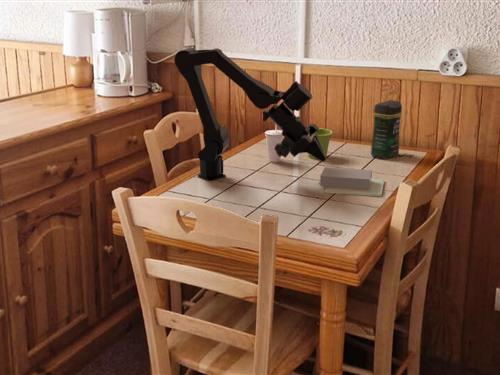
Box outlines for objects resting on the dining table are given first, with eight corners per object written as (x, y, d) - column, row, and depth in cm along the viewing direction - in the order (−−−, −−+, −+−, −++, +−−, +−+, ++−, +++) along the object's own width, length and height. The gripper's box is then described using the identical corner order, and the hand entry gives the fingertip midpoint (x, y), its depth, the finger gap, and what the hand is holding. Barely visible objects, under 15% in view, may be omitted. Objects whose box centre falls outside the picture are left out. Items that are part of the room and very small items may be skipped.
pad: (324, 192, 193) (324, 190, 193) (330, 177, 206) (330, 175, 206) (381, 196, 190) (381, 194, 189) (384, 181, 202) (384, 179, 202)
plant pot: (336, 155, 229) (337, 130, 227) (324, 162, 222) (325, 136, 219) (311, 151, 234) (311, 127, 231) (298, 158, 226) (299, 132, 223)
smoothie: (276, 164, 219) (277, 122, 215) (260, 161, 223) (260, 119, 218) (288, 160, 224) (288, 118, 220) (272, 157, 228) (272, 116, 223)
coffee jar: (388, 161, 223) (392, 105, 217) (367, 156, 227) (370, 102, 221) (402, 154, 230) (406, 100, 224) (381, 150, 235) (384, 97, 229)
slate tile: (320, 176, 195) (369, 179, 191) (324, 167, 203) (372, 170, 200) (320, 187, 196) (369, 190, 192) (324, 177, 204) (371, 181, 201)
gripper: (274, 132, 208) (309, 168, 209) (261, 147, 191) (299, 187, 192) (300, 107, 204) (336, 145, 205) (289, 121, 187) (328, 162, 188)
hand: (324, 160), depth 197 cm, fingers closed
